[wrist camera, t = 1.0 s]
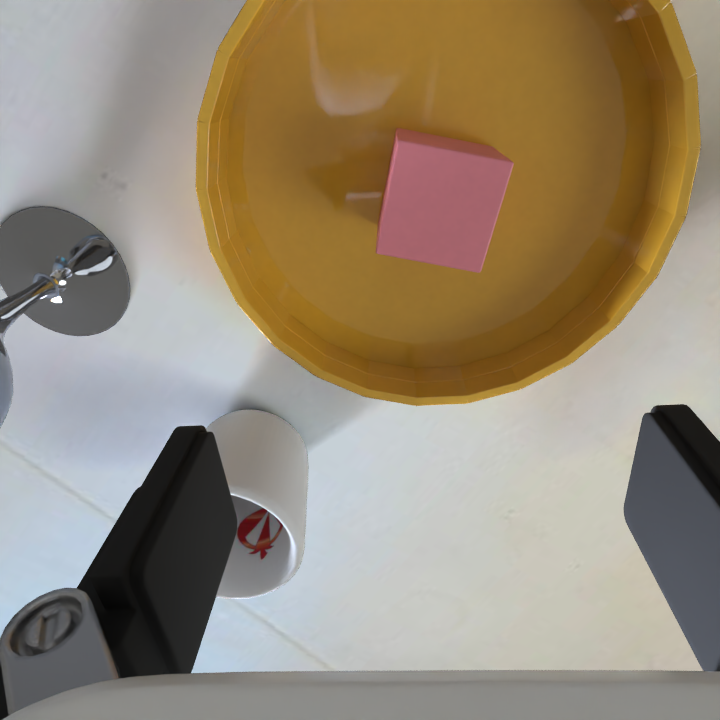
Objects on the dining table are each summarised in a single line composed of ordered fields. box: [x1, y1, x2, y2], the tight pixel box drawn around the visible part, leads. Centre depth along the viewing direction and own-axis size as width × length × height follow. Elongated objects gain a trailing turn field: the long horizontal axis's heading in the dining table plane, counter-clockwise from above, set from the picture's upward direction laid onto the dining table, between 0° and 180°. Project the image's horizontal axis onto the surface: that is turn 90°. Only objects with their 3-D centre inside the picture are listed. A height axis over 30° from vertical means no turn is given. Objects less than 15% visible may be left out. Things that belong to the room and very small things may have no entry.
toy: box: [376, 128, 514, 273], centre depth 22 cm, size 4×4×4 cm
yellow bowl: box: [196, 0, 701, 406], centre depth 23 cm, size 20×20×4 cm
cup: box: [206, 410, 308, 599], centre depth 30 cm, size 11×8×8 cm
